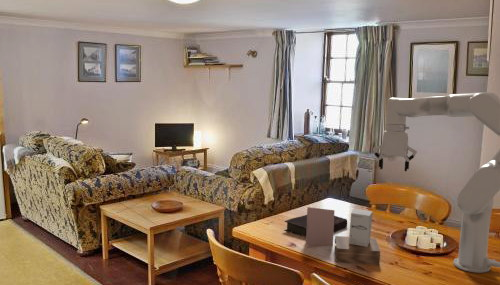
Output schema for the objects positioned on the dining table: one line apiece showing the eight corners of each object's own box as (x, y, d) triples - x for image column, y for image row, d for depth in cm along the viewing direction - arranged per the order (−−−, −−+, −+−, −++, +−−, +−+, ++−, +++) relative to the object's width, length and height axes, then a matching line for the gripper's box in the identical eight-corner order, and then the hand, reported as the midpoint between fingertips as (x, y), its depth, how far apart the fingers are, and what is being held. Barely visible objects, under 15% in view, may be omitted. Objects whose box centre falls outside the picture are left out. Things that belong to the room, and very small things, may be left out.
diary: (347, 229, 222) (348, 218, 221) (315, 242, 204) (316, 230, 203) (315, 219, 235) (315, 209, 234) (282, 231, 217) (282, 220, 216)
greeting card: (333, 244, 200) (334, 209, 197) (330, 250, 193) (331, 214, 191) (306, 240, 203) (307, 206, 201) (302, 246, 197) (303, 211, 194)
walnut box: (374, 252, 193) (375, 238, 192) (379, 266, 179) (380, 251, 178) (333, 249, 195) (334, 235, 194) (335, 263, 181) (336, 248, 180)
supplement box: (348, 244, 184) (350, 212, 182) (351, 238, 191) (354, 207, 189) (367, 247, 181) (369, 215, 179) (370, 241, 188) (373, 210, 186)
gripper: (418, 128, 193) (416, 170, 195) (375, 126, 199) (373, 166, 202) (417, 130, 186) (415, 173, 188) (372, 128, 193) (370, 169, 195)
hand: (393, 169), depth 195 cm, fingers open, 9 cm apart
